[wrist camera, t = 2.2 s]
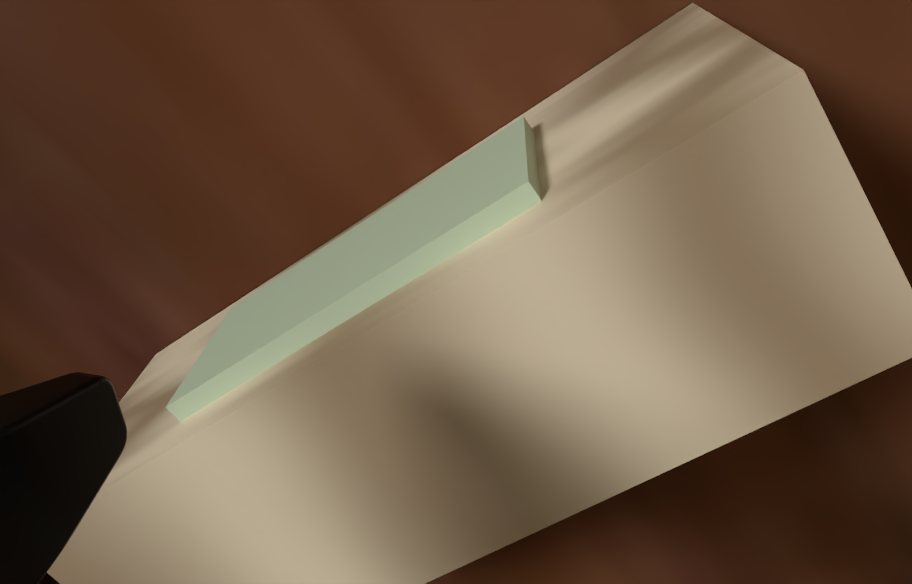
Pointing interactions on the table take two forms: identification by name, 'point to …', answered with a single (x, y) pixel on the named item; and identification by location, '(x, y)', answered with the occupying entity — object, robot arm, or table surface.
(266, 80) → the table surface
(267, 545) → the block
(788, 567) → the table surface
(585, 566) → the table surface
